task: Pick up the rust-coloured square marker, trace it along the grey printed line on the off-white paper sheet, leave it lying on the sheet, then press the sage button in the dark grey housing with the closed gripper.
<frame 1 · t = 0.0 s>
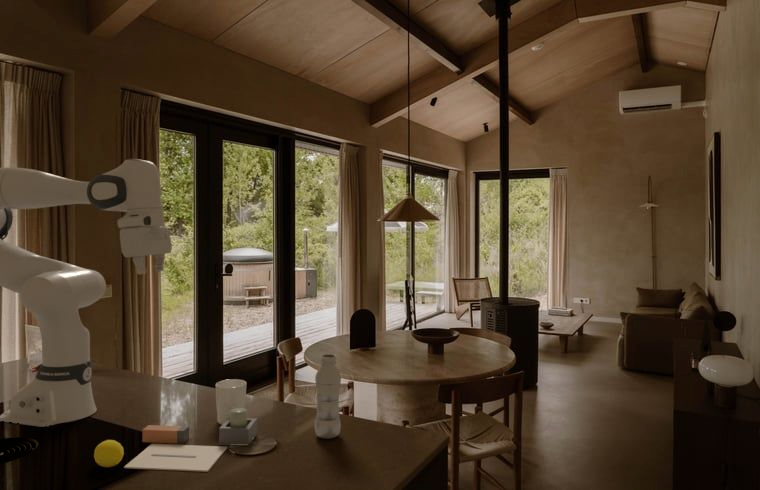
hand: (150, 272, 140), 39 cm above the kitchen island, tool pointing down, fingers open, 8 cm apart
button housing: (238, 439, 127), on the kitchen island
paper: (178, 457, 117), on the kitchen island
lemon: (108, 466, 113), on the kitchen island
done button: (238, 421, 127), point 4 cm above the kitchen island, slide at 0.0 cm
marker: (165, 440, 126), on the kitchen island
plastic bottle: (327, 437, 130), on the kitchen island
white cup: (230, 421, 140), on the kitchen island
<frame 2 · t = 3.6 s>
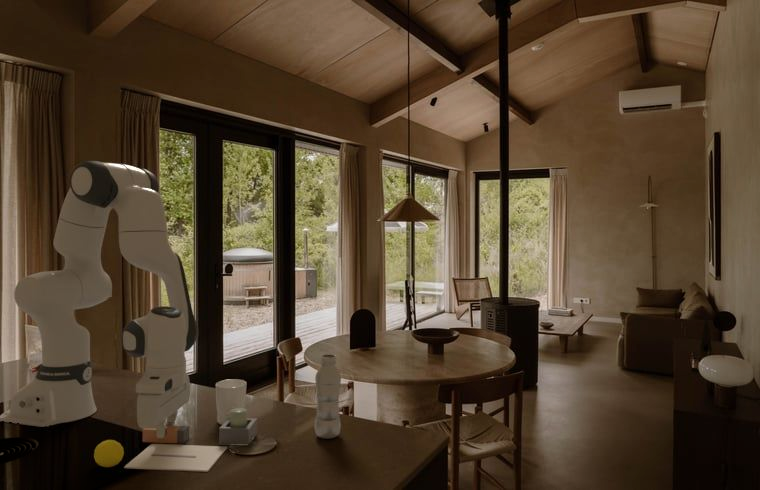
hand: (166, 433, 126), 2 cm above the kitchen island, tool pointing down, fingers closed on marker, 3 cm apart
marker: (166, 440, 126), on the kitchen island, touching gripper
everything else where it was.
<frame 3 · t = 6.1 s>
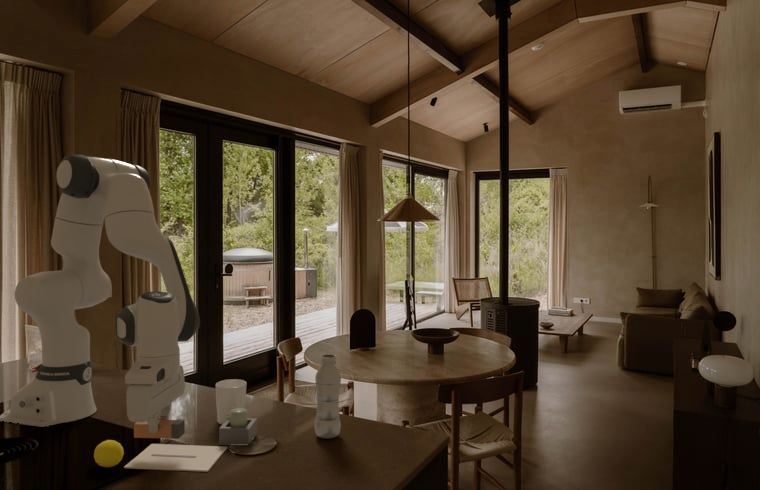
hand: (159, 427, 117), 6 cm above the kitchen island, tool pointing down, fingers closed on marker, 3 cm apart
marker: (159, 435, 117), point 5 cm above the kitchen island, touching gripper
everything else where it was.
when the fingers open (2 cm above the kitchen island, at t = 8.8 s): marker stays where it is, resting on paper.
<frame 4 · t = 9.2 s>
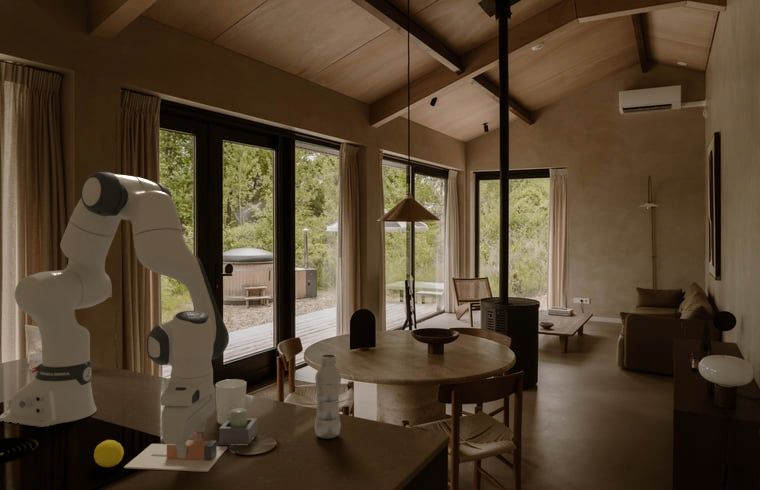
hand: (191, 447, 117), 2 cm above the kitchen island, tool pointing down, fingers open, 8 cm apart
marker: (191, 456, 117), resting on paper
everything else where it was.
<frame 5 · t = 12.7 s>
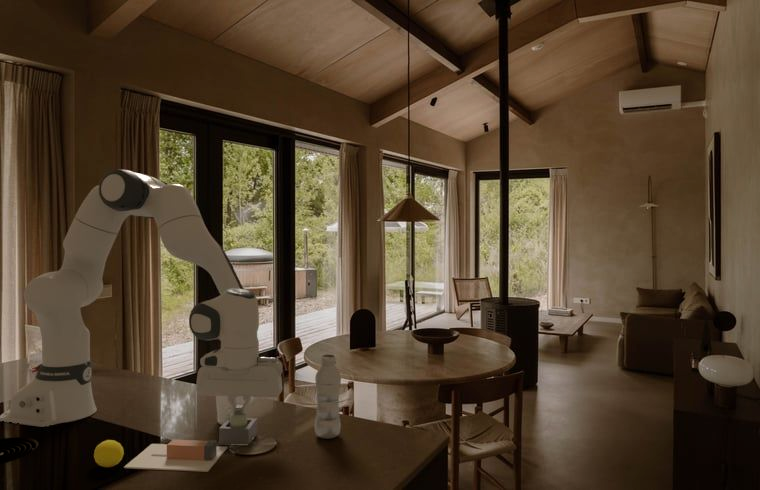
hand: (239, 413, 127), 6 cm above the kitchen island, tool pointing down, fingers closed, pressing on done button
done button: (238, 424, 127), point 4 cm above the kitchen island, slide at -0.7 cm, touching gripper
everything else where it was.
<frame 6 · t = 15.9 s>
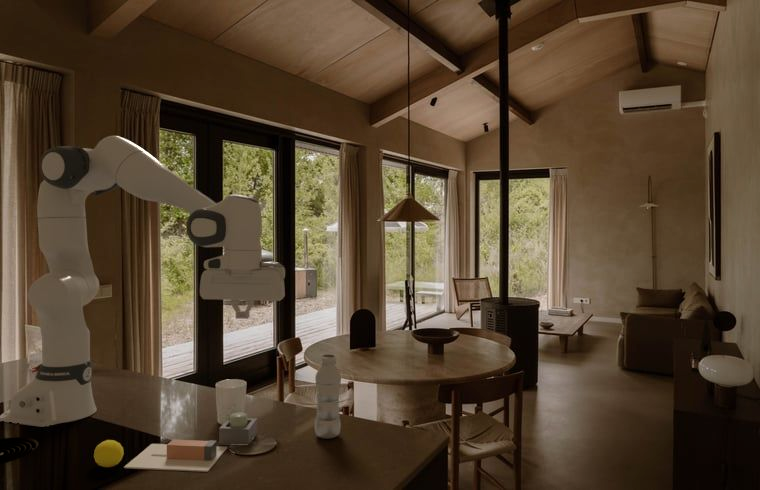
hand: (242, 318, 128), 29 cm above the kitchen island, tool pointing down, fingers closed
done button: (238, 425, 127), point 3 cm above the kitchen island, slide at -1.1 cm
everything else where it was.
at the end: marker inside the target area (2.6 cm from its centre), resting on paper; done button slide at -1.1 cm; the gripper is holding nothing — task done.
